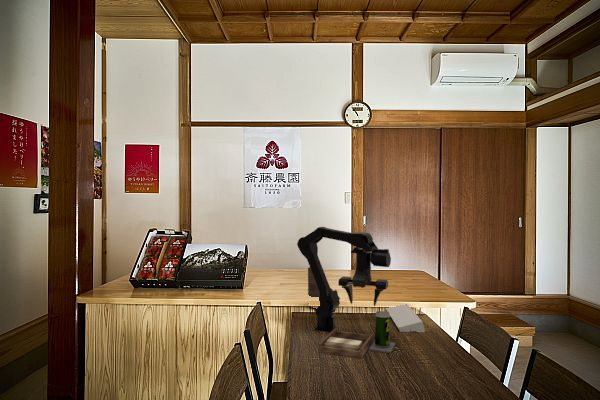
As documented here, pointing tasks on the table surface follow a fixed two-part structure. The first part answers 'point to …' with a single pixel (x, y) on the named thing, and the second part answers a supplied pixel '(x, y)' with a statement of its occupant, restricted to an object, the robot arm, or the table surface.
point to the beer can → (382, 329)
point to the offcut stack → (343, 343)
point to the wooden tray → (345, 352)
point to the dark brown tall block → (312, 285)
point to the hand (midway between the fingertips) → (362, 304)
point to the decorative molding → (406, 319)
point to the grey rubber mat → (385, 350)
